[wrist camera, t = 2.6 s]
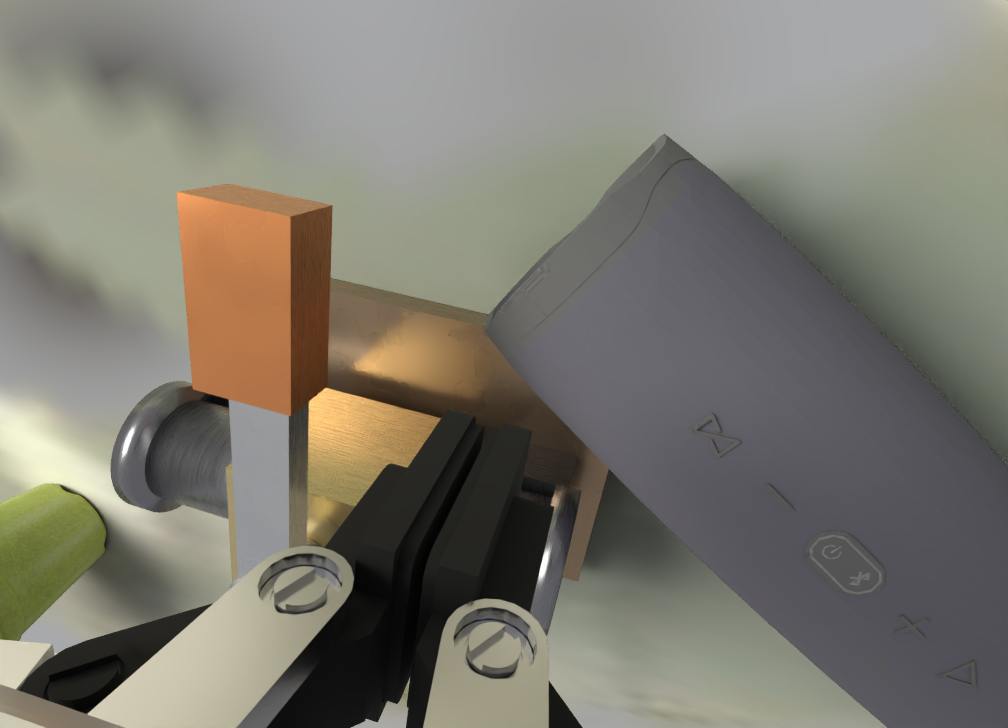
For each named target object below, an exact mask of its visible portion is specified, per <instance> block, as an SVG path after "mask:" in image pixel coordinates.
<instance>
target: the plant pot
mask: <svg viewBox="0 0 1008 728" xmlns="http://www.w3.org/2000/svg"><path fill="white" fill-rule="evenodd" d="M106 534H107V532H106V529H105V526H104V524H103V522H102V520H101V518H100V516H99V515H98V513H97V512H96V511H95V509H94V508H93V507H92V506H91V505H90V504H89V503H88V502H87V501H86V500H85V499H84V498H83V497H81V496H80V495H77V494H72V493H69V492H66V491H65V490H63V489H62V488H61V486H60V485H57V484H44V485H40V486H38V487H35V488H33V489H31V490H29V491H26V492H24V493H22V494H19V495H17V496H15V497H12V498H10V499H8V500H6V501H4V502H1V503H0V640H12V641H19V640H20V638H21V636H22V634H23V633H24V632H25V631H26V630H27V629H28V628H29V627H30V626H31V625H32V624H33V623H34V622H35V621H36V620H37V619H38V618H39V617H40V616H41V615H42V614H43V613H44V612H45V611H46V610H47V609H48V608H49V607H50V606H51V605H52V604H53V603H54V602H55V601H56V600H57V599H58V598H59V597H60V596H61V595H62V594H63V593H64V592H65V591H66V590H67V589H68V588H69V587H70V586H71V585H72V584H73V583H74V582H75V581H76V580H77V579H78V578H79V577H80V576H82V575H83V574H84V573H85V572H86V571H87V570H88V569H89V568H90V567H91V566H92V565H93V564H94V563H95V562H96V561H97V560H98V559H99V558H100V557H101V556H102V555H103V554H104V552H105V550H106V548H105V547H104V543H105V538H106Z"/></svg>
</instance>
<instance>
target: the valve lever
mask: <svg viewBox="0 0 1008 728" xmlns="http://www.w3.org/2000/svg"><path fill="white" fill-rule="evenodd" d="M177 201H178V213H179V225H180V238H181V250H182V262H183V274H184V287H185V299H186V311H187V323H188V336H189V348H190V360H191V373H192V385H193V390H197V391H201V392H204V393H208V394H212V395H215V396H219V397H222V398H226V399H229V413H230V432H231V451H232V470H233V489H234V508H235V527H236V546H237V565H238V578H237V579H236V580H235V581H234V582H233V583H232V584H231V586H230V587H229V589H231V588H232V587H233V586H234V585H235V584H236V583H237V582H239V581H240V580H241V579H242V578H243V577H244V576H245V575H247V574H248V573H249V572H250V571H251V570H252V569H253V568H255V567H256V566H257V565H258V564H259V563H260V562H262V561H263V560H265V559H266V558H268V557H269V556H271V555H272V554H275V553H277V552H280V551H282V550H285V549H288V548H294V547H300V546H307V503H308V426H309V401H310V400H312V399H313V398H314V397H315V396H316V395H318V394H319V393H320V392H321V391H323V390H324V389H325V388H326V387H327V380H328V344H329V308H330V272H331V236H332V205H329V204H324V203H319V202H315V201H310V200H305V199H300V198H296V197H291V196H286V195H281V194H277V193H272V192H267V191H262V190H258V189H253V188H248V187H243V186H239V185H234V184H225V185H218V186H212V187H206V188H199V189H193V190H186V191H180V192H177ZM229 589H228V590H229Z"/></svg>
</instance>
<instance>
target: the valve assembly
mask: <svg viewBox="0 0 1008 728" xmlns="http://www.w3.org/2000/svg"><path fill="white" fill-rule="evenodd" d="M487 317H488V315H487V314H483V313H478V312H474V311H470V310H465V309H461V308H457V307H452V306H448V305H444V304H440V303H435V302H431V301H427V300H422V299H418V298H414V297H409V296H405V295H401V294H396V293H392V292H388V291H384V290H379V289H375V288H371V287H366V286H362V285H358V284H353V283H349V282H345V281H340V280H336V279H332V278H330V308H329V344H328V380H327V387H326V388H325V389H324V390H323V391H321V392H320V393H319V394H318V395H316V396H315V397H314V398H313V399H312V400H310V401H309V426H308V503H307V546H316V547H322V548H324V547H325V546H326V545H327V543H328V542H329V541H330V539H331V538H332V537H333V535H334V534H335V533H336V531H337V530H338V529H339V527H340V526H341V525H342V523H343V522H344V521H345V519H346V518H347V517H348V515H349V514H350V513H351V511H352V510H353V509H354V507H355V506H356V505H357V503H358V502H359V501H360V499H361V498H362V497H363V495H364V494H365V493H366V491H367V490H368V489H369V487H370V486H371V485H372V483H373V482H374V481H375V479H376V478H377V477H378V475H379V474H380V473H381V471H382V470H383V469H384V468H385V467H386V466H387V465H388V464H390V463H392V464H396V465H400V466H403V467H408V466H409V465H410V463H411V462H412V460H413V459H414V457H415V456H416V454H417V453H418V451H419V450H420V449H421V447H422V446H423V444H424V443H425V441H426V440H427V438H428V437H429V435H430V434H431V432H432V431H433V430H434V428H435V427H436V425H437V424H438V422H439V421H440V419H441V418H442V416H443V415H444V414H445V412H446V411H447V410H453V411H457V412H461V413H465V414H469V415H473V416H476V424H479V425H483V426H484V436H483V442H482V447H483V445H484V443H485V441H486V439H487V437H488V435H489V433H490V431H491V429H492V428H495V429H499V430H501V429H502V427H503V425H504V424H509V425H513V426H517V427H521V428H525V429H529V430H532V436H531V442H530V447H529V451H528V456H527V461H526V466H525V471H524V476H523V481H522V486H521V491H520V496H519V497H520V498H524V499H527V500H531V501H535V502H539V503H542V504H546V505H550V506H554V512H553V516H552V520H551V524H550V529H549V533H548V537H547V542H546V546H545V550H544V554H543V559H542V563H541V567H540V572H539V576H538V580H537V585H536V589H535V593H534V597H533V602H532V606H531V610H530V614H531V615H532V616H533V617H534V618H535V619H536V620H537V621H538V622H539V624H540V625H541V627H542V629H543V631H544V633H545V635H546V636H547V634H548V631H549V627H550V624H551V620H552V616H553V612H554V608H555V604H556V600H557V596H558V592H559V588H560V584H561V580H562V577H566V578H569V579H572V580H576V581H578V579H579V576H580V572H581V568H582V565H583V561H584V557H585V554H586V550H587V547H588V543H589V539H590V536H591V532H592V528H593V525H594V521H595V517H596V514H597V510H598V506H599V503H600V499H601V496H602V492H603V488H604V485H605V481H606V477H607V474H608V470H609V469H608V468H607V467H606V466H605V464H604V463H603V462H602V461H601V460H600V459H599V458H598V457H597V456H596V455H595V454H594V453H593V452H592V451H591V450H590V449H589V448H588V447H587V446H586V445H585V444H584V443H583V442H582V441H581V440H580V439H579V438H578V437H577V436H576V435H575V434H574V433H573V431H572V430H571V429H570V428H569V427H568V426H567V425H566V424H565V423H564V422H563V421H562V420H561V419H560V418H559V417H558V416H557V415H556V414H555V413H554V412H553V411H552V410H551V409H550V408H549V407H548V406H547V405H546V404H545V403H544V402H543V401H542V400H541V398H540V397H539V396H538V395H537V394H536V393H535V392H534V391H533V390H532V389H531V388H530V386H529V385H528V384H527V383H526V382H525V381H524V380H523V379H522V377H521V376H520V375H519V374H518V373H517V372H516V371H515V369H514V368H513V367H512V366H511V365H510V364H509V362H508V361H507V360H506V359H505V357H504V356H503V355H502V353H501V352H500V351H499V349H498V348H497V347H496V346H495V344H494V343H493V342H492V341H491V340H490V339H489V337H488V336H487V335H486V333H485V332H484V325H485V321H486V318H487ZM481 449H482V448H481ZM111 479H112V483H113V486H114V489H115V491H116V493H117V494H118V496H119V497H120V498H121V499H122V500H123V501H125V502H126V503H128V504H131V505H134V506H137V507H140V508H143V509H146V510H150V511H153V512H159V513H160V512H167V511H171V510H174V509H176V508H178V507H180V506H181V505H185V506H188V507H191V508H194V509H198V510H201V511H204V512H207V513H211V514H214V515H217V516H220V517H223V518H227V519H229V534H230V551H231V568H232V583H233V582H234V581H235V580H236V579H237V578H238V565H237V546H236V527H235V508H234V489H233V470H232V451H231V432H230V413H229V399H226V398H222V397H219V396H215V395H212V394H208V393H204V392H201V391H197V390H193V385H192V383H189V382H185V381H174V382H170V383H166V384H164V385H162V386H159V387H158V388H156V389H154V390H153V391H151V392H150V393H149V394H147V395H146V396H145V397H144V398H143V399H142V400H141V401H140V402H139V403H138V404H137V405H136V406H135V408H134V409H133V410H132V411H131V413H130V414H129V416H128V417H127V419H126V420H125V422H124V424H123V425H122V427H121V429H120V432H119V434H118V436H117V439H116V442H115V445H114V448H113V452H112V458H111Z"/></svg>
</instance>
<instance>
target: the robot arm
mask: <svg viewBox="0 0 1008 728" xmlns="http://www.w3.org/2000/svg"><path fill="white" fill-rule="evenodd" d="M483 436H484V426H483V425H479V424H476V416H473V415H469V414H465V413H461V412H457V411H453V410H447V411H446V412H445V414H444V415H443V416H442V418H441V419H440V421H439V422H438V424H437V425H436V427H435V428H434V430H433V431H432V432H431V434H430V435H429V437H428V438H427V440H426V441H425V443H424V444H423V446H422V447H421V449H420V450H419V451H418V453H417V454H416V456H415V457H414V459H413V460H412V462H411V463H410V465H409V466H408V467H403V466H400V465H396V464H392V463H390V464H388V465H387V466H386V467H385V468H384V469H383V470H382V471H381V473H380V474H379V475H378V477H377V478H376V479H375V481H374V482H373V483H372V485H371V486H370V487H369V489H368V490H367V491H366V493H365V494H364V495H363V497H362V498H361V499H360V501H359V502H358V503H357V505H356V506H355V507H354V509H353V510H352V511H351V513H350V514H349V515H348V517H347V518H346V519H345V521H344V522H343V523H342V525H341V526H340V527H339V529H338V530H337V531H336V533H335V534H334V535H333V537H332V538H331V539H330V541H329V542H328V543H327V545H326V546H325V547H324V548H322V547H316V546H300V547H294V548H288V549H285V550H282V551H280V552H277V553H275V554H272V555H271V556H269V557H268V558H266V559H265V560H263V561H262V562H260V563H259V564H258V565H257V566H256V567H255V568H253V569H252V570H251V571H250V572H249V573H248V574H247V575H245V576H244V577H243V578H242V579H241V580H240V581H239V582H237V583H236V584H235V585H234V586H233V587H232V588H231V589H229V590H228V591H227V592H226V593H225V594H224V595H223V596H221V597H220V598H219V599H218V600H217V601H216V602H215V603H213V604H209V605H206V606H203V607H199V608H196V609H192V610H189V611H186V612H182V613H179V614H175V615H172V616H169V617H165V618H162V619H158V620H155V621H152V622H148V623H145V624H141V625H138V626H135V627H131V628H128V629H124V630H121V631H118V632H114V633H111V634H107V635H104V636H101V637H97V638H94V639H90V640H87V641H84V642H82V643H79V644H77V645H74V646H72V647H69V648H66V649H64V650H63V651H61V652H59V653H54V650H53V646H52V644H46V643H35V642H23V641H12V640H0V728H351V727H353V726H355V725H357V724H360V723H362V722H364V721H365V719H369V720H372V721H375V722H378V721H379V718H380V716H381V714H382V712H383V709H384V707H385V705H386V703H387V701H389V702H393V703H396V704H397V703H398V702H399V701H400V699H401V697H402V694H403V692H404V690H405V687H406V685H407V683H408V680H409V678H410V684H409V692H408V699H407V707H408V708H409V709H408V716H407V725H406V728H582V726H581V725H580V724H579V722H578V721H577V719H576V718H575V717H574V715H573V714H572V712H571V711H570V710H569V708H568V707H567V705H566V704H565V703H564V701H563V700H562V698H561V697H560V696H559V694H558V693H557V691H556V690H555V689H554V687H553V686H552V684H551V683H550V682H549V649H548V643H547V638H546V635H545V633H544V631H543V629H542V627H541V625H540V624H539V622H538V621H537V620H536V619H535V618H534V617H533V616H532V615H531V614H530V610H531V606H532V602H533V597H534V593H535V589H536V585H537V580H538V576H539V572H540V567H541V563H542V559H543V554H544V550H545V546H546V542H547V537H548V533H549V529H550V524H551V520H552V516H553V512H554V506H550V505H546V504H542V503H539V502H535V501H531V500H527V499H524V498H520V497H519V496H520V491H521V486H522V481H523V476H524V471H525V466H526V461H527V456H528V451H529V447H530V442H531V436H532V430H529V429H525V428H521V427H517V426H513V425H509V424H504V425H503V427H502V429H501V430H499V429H495V428H492V429H491V431H490V433H489V435H488V437H487V439H486V441H485V443H484V445H483V447H482V442H483ZM481 448H482V449H481Z"/></svg>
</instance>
